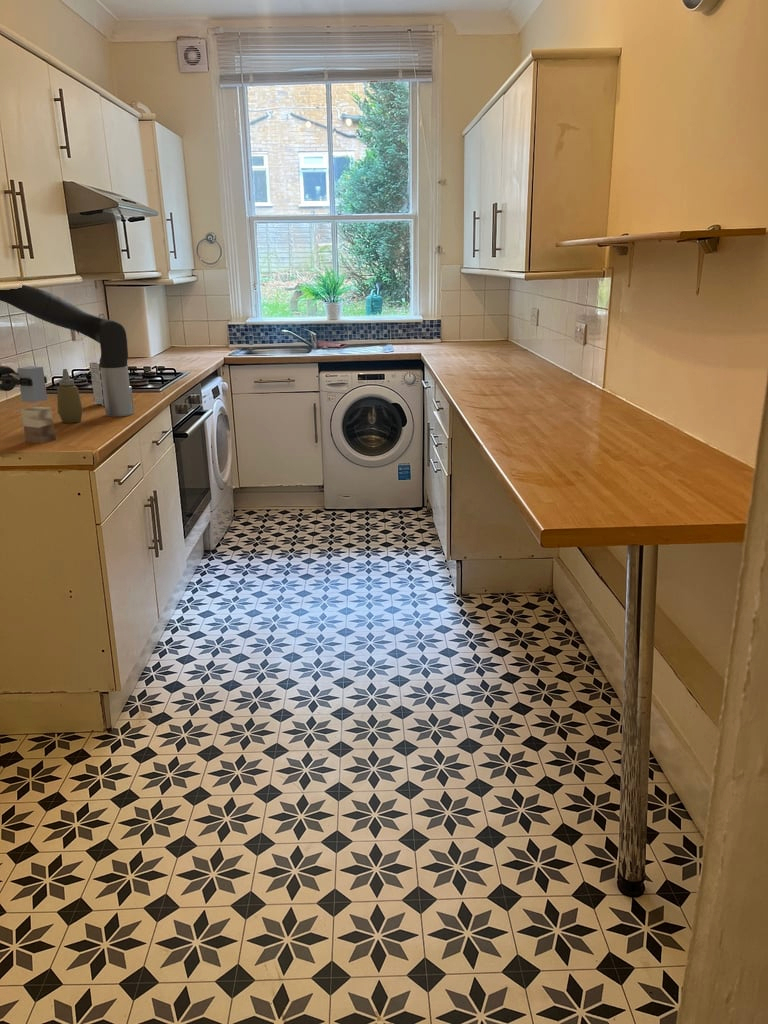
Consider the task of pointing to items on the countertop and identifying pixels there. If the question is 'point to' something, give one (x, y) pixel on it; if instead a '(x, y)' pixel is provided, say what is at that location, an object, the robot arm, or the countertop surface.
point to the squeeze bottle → (69, 400)
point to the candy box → (97, 383)
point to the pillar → (38, 388)
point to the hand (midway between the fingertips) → (38, 381)
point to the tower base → (40, 434)
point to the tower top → (37, 417)
